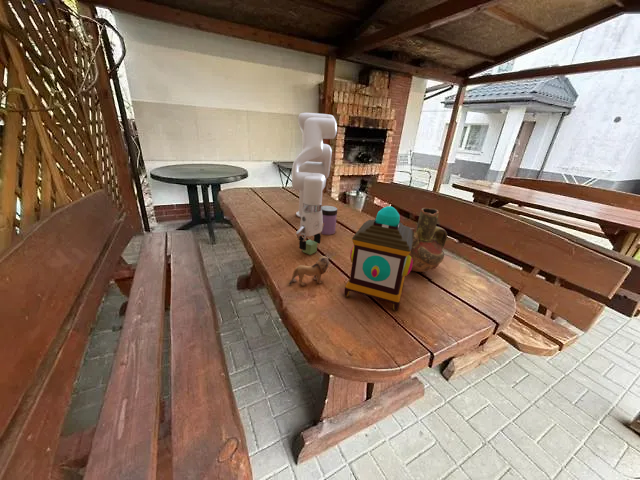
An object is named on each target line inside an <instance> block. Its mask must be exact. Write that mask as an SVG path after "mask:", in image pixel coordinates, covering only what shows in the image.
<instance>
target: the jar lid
mask: <svg viewBox="0 0 640 480" xmlns="http://www.w3.org/2000/svg"><path fill="white" fill-rule="evenodd" d="M321 210H322V214H323V215H328V216H333V215H336V214H337V215H338V208H337V207H336V206H333V205H322V206H321Z"/></svg>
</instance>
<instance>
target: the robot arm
mask: <svg viewBox="0 0 640 480" xmlns="http://www.w3.org/2000/svg"><path fill="white" fill-rule="evenodd" d="M297 123H298V127H299V129H300V131H301V135H302V141H301V142H302V144H301V145H302V146H301V147H302V148H301V152H300V153H298V155H297V156H296V157H295V158H294V161H293V163H292V166H291V186H292V188H293V189H294V190H295V191H299V193H298V195H299V196H298V197H299V198H298V211H296V213H295V215H296V217H298V218H300V222H299V223H300V224H299V228H298V230H297V231H296V232H295V235H296V238H297V239H298V241H299V243H298V245H299V246H298V249H300V250H301V251H302V250H306V241H307V238H311V237H313V241H315V242H317V245H320V244H321V237H322V236H321V235H323V234H322V230H323V227H324V223H323V215H322V210H321V206H323V191H324V189H325V188H326V185H327V179H329V176H330V173H331V171H330V170H331V163H332V155H333V152H332V151H333V150H332V146H330V145H329V144H327V143H324V139H325V140H334V139H335V138H336V136H337V132H338V131H337V130H338V126H337V120H336V118H335V116H334V115H332V114H328V113H318V112H300V113H299V114H298V117H297Z"/></svg>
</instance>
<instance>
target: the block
mask: <svg viewBox="0 0 640 480" xmlns="http://www.w3.org/2000/svg"><path fill="white" fill-rule="evenodd" d="M305 241H306V250H302V249H301V251H302V253H305V254H307V255H309V256H311V255H313V254H315V253H317V252H318V243H317V242H315V241H314V240H312V239H306V240H305Z"/></svg>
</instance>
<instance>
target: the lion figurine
mask: <svg viewBox="0 0 640 480" xmlns="http://www.w3.org/2000/svg"><path fill="white" fill-rule="evenodd" d="M329 265H330V259H329V257H327V256H325V255H321V256H319V257H318V259H317V260H316V262H315V263H314V264H312V265H304V264H299V265H297V266H296V267H295V268H294V270H293V272H292V276H291V280H290V282H289V283H288V285H291V284H292V283H293V282H294V283H295V282H296V281H297V280H296V279H295V278H296V277H298V278H299V279H298V283H299V284H300V286H302V287H304V286H305V285H306V283H305V282H303V279H304V277H305V275H306V276H307V277H308V276H309V277H313V280H315V281H316V282H317V284H322V281H321V277H322V275H323V274H325V273H326V272H327V270H328V268H329Z"/></svg>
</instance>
